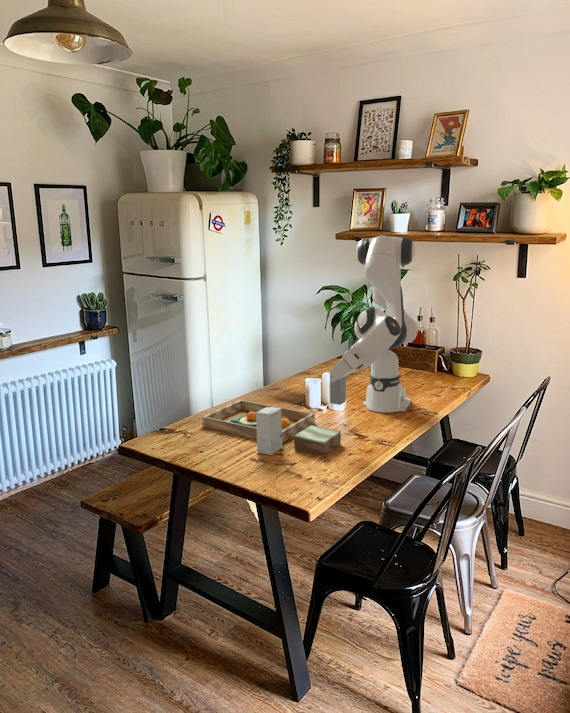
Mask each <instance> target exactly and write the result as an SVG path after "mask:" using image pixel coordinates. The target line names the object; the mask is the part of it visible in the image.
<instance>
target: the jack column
mask: <svg viewBox="0 0 570 713" xmlns="http://www.w3.org/2000/svg"><path fill="white" fill-rule="evenodd" d="M330 371H331V369H330V370H329V372H330ZM346 377H347V375H346V376H344V377H342V378H340V379H339V380H337V381H336V382H334V383H332V381H331V380H330V379H331V378H332V377H331V376H330V375H329V384H330V385H329V403H330V404H331V405H332V404H333V405H342V404H345V403H346V392H347V390H346V388H347V387H346V383H347V382H346Z"/></svg>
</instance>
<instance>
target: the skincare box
mask: <svg viewBox="0 0 570 713" xmlns="http://www.w3.org/2000/svg"><path fill="white" fill-rule="evenodd" d="M256 429H257V439H256V449H257V451H256V452H257V453H259V454H264V455H267V456H272V455H273V454H275V453H276V452H278V451H279V450H281V449H282V448H283V442H282V420H281V408H275V407H266V408H264V409H261V410H260V411H258V412H256Z"/></svg>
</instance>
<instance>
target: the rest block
mask: <svg viewBox="0 0 570 713" xmlns="http://www.w3.org/2000/svg"><path fill="white" fill-rule="evenodd" d="M341 432H342V431H341V430H337V429H331V428H328V427H322V426H317V425H313V424H312V425H311V426H309V427H307V428H306V429H304V430H302V431H301V432H299V433H297V434H296V435H294V436H293V437H294V438H293V440H294V441H293V442H294V443H293V444H294V445H293V448H294V449H293V450H297V451H302V452H304V453H305V452H306V453H310V454H315V455H319V456H324V457H325V456H327V455H328V454H329V453H331V452H332V451H333V450H335V449H336V448H338V447H339V446H340V445H341V443H342V442H341V441H342V440H341V439H342V438H341V437H342V436H341V435H342V433H341Z"/></svg>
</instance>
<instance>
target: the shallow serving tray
mask: <svg viewBox="0 0 570 713" xmlns="http://www.w3.org/2000/svg"><path fill="white" fill-rule="evenodd" d="M266 407H275V408H281V417H286V418H288V419H289V420H291V419H292V420H291V421H296V420H297V421H296V422H295V423H292V424H291V426H289V427H287V428H285V429H284V430H282V443H285V442H286V441H287V440H289V439H290V438H293V437H294V435H296V434H298V433H299V432H301V431H303V430H304V429H306V428H308V427H309V426H311V425H312V426H313V425H314V424H315V419H316V418H315V415H316V414H315V413H314V412H309V411H302V410H298V409H293V408H286V407H281V406H276V405H272V404H271V405H270V404H266V403H259V402H254V401H248V400H243V399H239V400H237V401H235V402H233V403H231V404H228V405H226V406H224V407H221V408H219V409H218V410H215V411H213V412H210V413H207V414H206V415H203V416H202V417H201V421H202V427H203V428H206V427H207V429H210V428H212V429H211V430H215V429H216V430H215V431H219V430H220V432H224V431H225V432H224V433H228V432H229V433H230V434H232V435H233V434H234V435H237V436H238V435H239V436H242V437H247V438H250V439H256V440H257V429H256V427H252V426H247V425H243V424H238V423H233V422H228V421H227V420H223V419H225V418H228V417H229V416H232V415H233V414H236V413H237V412H240V411H245V412H250V411H251V412H258V411H260V410H261V409H264V408H266Z"/></svg>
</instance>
